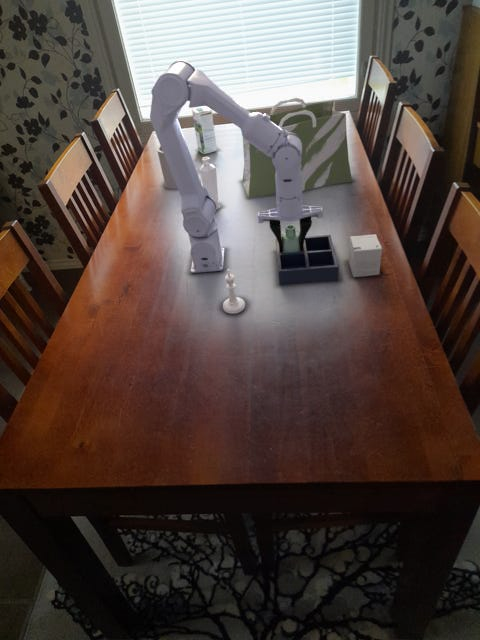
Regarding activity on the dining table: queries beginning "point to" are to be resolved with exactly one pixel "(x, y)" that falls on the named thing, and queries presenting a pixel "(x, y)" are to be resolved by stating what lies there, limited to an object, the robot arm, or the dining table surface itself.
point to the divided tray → (308, 262)
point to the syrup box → (204, 130)
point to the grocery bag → (303, 149)
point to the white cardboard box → (365, 255)
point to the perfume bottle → (209, 179)
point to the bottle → (291, 240)
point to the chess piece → (232, 297)
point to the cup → (166, 170)
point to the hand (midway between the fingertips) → (291, 245)
